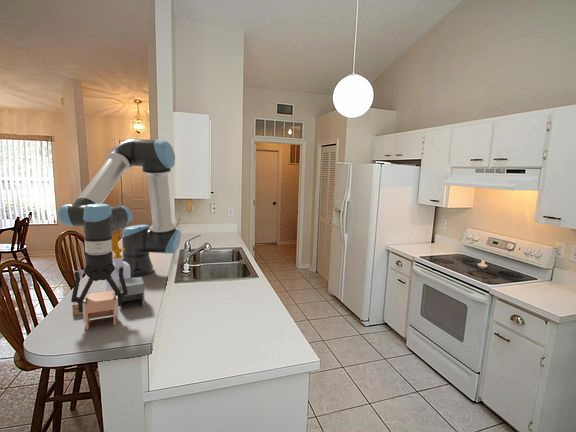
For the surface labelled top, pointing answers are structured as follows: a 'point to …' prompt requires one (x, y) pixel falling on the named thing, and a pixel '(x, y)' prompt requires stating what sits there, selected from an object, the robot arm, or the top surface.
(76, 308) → the letter cube
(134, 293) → the slate cover
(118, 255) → the soap bottle
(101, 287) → the top surface
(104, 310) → the terracotta cover
